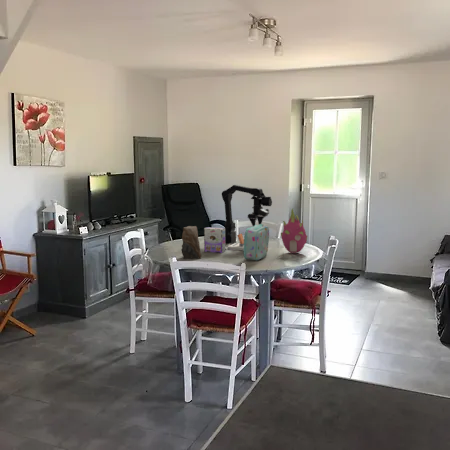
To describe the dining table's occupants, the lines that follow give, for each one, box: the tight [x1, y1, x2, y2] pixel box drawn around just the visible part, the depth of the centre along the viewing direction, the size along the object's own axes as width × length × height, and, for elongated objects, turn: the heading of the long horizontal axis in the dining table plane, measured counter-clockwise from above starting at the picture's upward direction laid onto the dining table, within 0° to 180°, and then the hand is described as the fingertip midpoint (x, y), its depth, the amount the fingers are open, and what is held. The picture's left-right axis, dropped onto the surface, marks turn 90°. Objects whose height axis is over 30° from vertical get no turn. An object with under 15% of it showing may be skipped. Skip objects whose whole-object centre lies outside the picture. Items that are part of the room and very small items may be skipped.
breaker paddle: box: [236, 233, 244, 245], centre depth 350 cm, size 2×6×8 cm, turn 158°
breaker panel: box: [227, 242, 244, 251], centre depth 350 cm, size 16×14×4 cm
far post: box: [230, 230, 237, 245], centre depth 364 cm, size 5×5×10 cm
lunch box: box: [243, 223, 270, 261], centre depth 317 cm, size 27×10×21 cm, turn 159°
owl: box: [181, 225, 202, 260], centre depth 320 cm, size 13×13×20 cm
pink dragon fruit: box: [280, 208, 308, 254], centre depth 330 cm, size 18×14×30 cm
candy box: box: [203, 226, 226, 254], centre depth 338 cm, size 14×6×16 cm, turn 65°
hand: (257, 226), depth 361 cm, fingers open, 9 cm apart
